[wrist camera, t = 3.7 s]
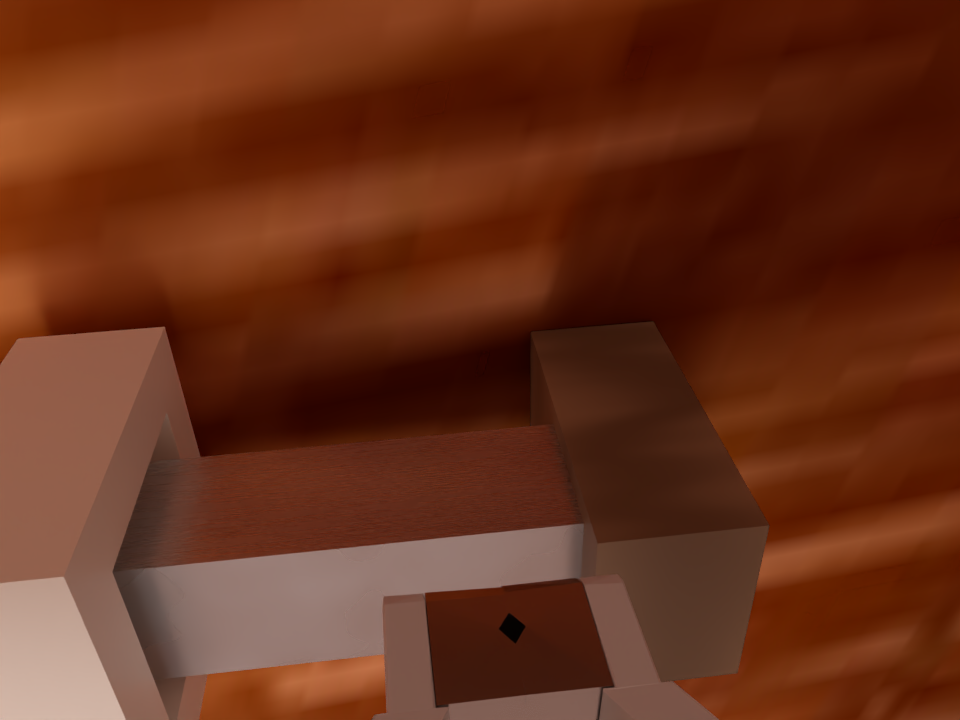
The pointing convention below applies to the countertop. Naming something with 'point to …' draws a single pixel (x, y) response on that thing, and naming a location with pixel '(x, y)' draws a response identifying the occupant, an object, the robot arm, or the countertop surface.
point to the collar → (82, 522)
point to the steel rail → (335, 542)
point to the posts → (652, 491)
